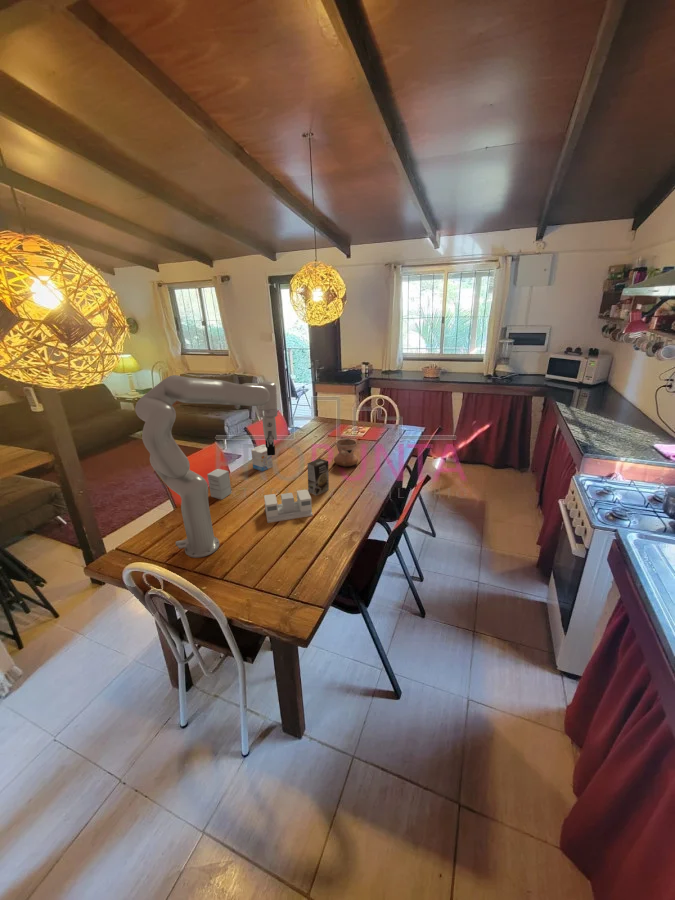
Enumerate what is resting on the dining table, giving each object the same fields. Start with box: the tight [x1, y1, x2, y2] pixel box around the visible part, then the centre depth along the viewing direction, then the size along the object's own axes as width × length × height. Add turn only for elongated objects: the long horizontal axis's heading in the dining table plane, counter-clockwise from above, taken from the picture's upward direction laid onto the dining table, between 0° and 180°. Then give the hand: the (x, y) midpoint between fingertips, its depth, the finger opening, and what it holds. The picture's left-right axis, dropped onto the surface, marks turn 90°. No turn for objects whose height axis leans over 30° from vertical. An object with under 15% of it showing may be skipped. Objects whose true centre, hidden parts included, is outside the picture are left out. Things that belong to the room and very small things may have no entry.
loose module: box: [280, 492, 295, 513], centre depth 156 cm, size 5×5×7 cm
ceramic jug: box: [333, 438, 359, 467], centre depth 206 cm, size 18×14×14 cm
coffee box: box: [307, 458, 330, 496], centre depth 174 cm, size 9×6×16 cm
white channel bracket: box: [263, 488, 313, 524], centre depth 156 cm, size 20×12×8 cm, turn 106°
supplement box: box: [206, 468, 232, 500], centre depth 171 cm, size 7×7×13 cm
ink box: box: [251, 443, 274, 472], centre depth 202 cm, size 9×8×13 cm
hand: (270, 451), depth 148 cm, fingers open, 9 cm apart
